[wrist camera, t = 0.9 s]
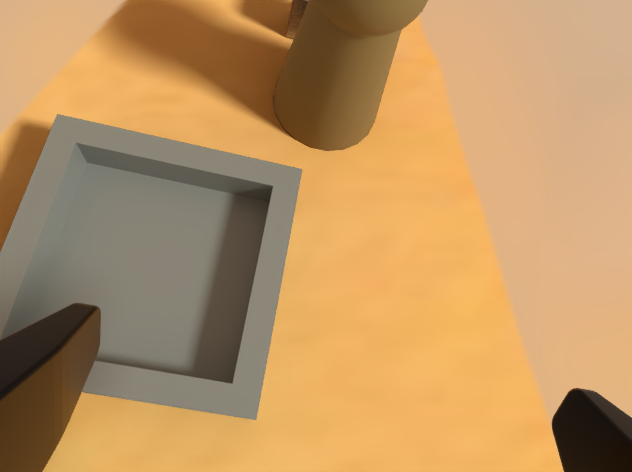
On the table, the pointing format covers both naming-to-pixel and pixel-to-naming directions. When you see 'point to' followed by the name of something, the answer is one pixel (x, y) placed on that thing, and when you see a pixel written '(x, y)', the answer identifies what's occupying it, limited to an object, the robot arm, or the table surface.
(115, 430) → the table surface
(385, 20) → the cork
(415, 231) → the table surface
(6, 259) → the tray
